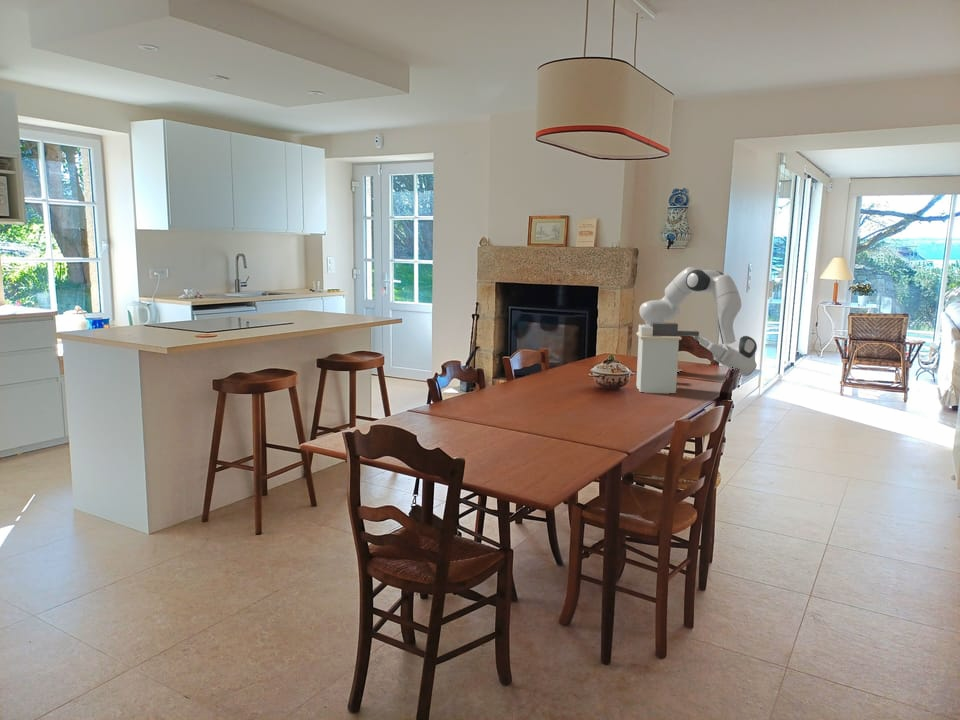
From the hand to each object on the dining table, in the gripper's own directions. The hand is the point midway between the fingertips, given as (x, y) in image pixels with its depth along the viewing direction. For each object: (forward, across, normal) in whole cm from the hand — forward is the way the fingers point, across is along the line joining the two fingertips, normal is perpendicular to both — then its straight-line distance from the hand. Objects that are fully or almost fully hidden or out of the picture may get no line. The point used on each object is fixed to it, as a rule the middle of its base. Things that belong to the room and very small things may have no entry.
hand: (696, 337), depth 315 cm
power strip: (+21, 0, +11) cm, 23 cm away
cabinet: (+2, 0, +30) cm, 30 cm away
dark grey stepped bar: (+10, 0, +5) cm, 11 cm away
